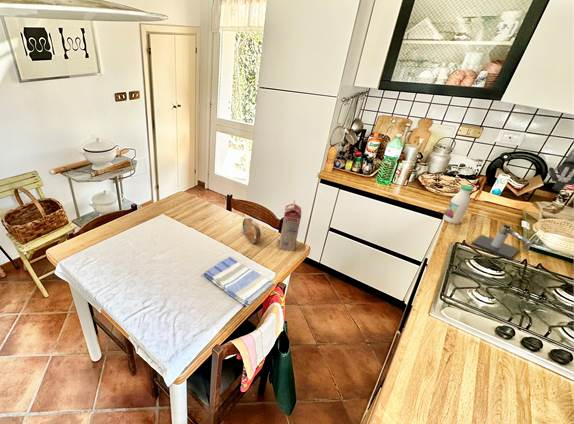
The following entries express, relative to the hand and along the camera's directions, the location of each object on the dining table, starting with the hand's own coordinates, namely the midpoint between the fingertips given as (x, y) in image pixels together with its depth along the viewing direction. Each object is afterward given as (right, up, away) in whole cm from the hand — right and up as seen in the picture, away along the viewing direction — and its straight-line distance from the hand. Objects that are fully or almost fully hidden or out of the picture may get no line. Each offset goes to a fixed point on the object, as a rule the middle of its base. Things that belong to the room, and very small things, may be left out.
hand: (556, 189), depth 133 cm
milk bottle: (-20, -14, +32) cm, 40 cm away
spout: (-18, -22, +1) cm, 28 cm away
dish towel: (-141, -37, -13) cm, 146 cm away
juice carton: (-115, -25, +9) cm, 118 cm away
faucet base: (-18, -26, +10) cm, 33 cm away
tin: (-131, -22, +15) cm, 134 cm away
